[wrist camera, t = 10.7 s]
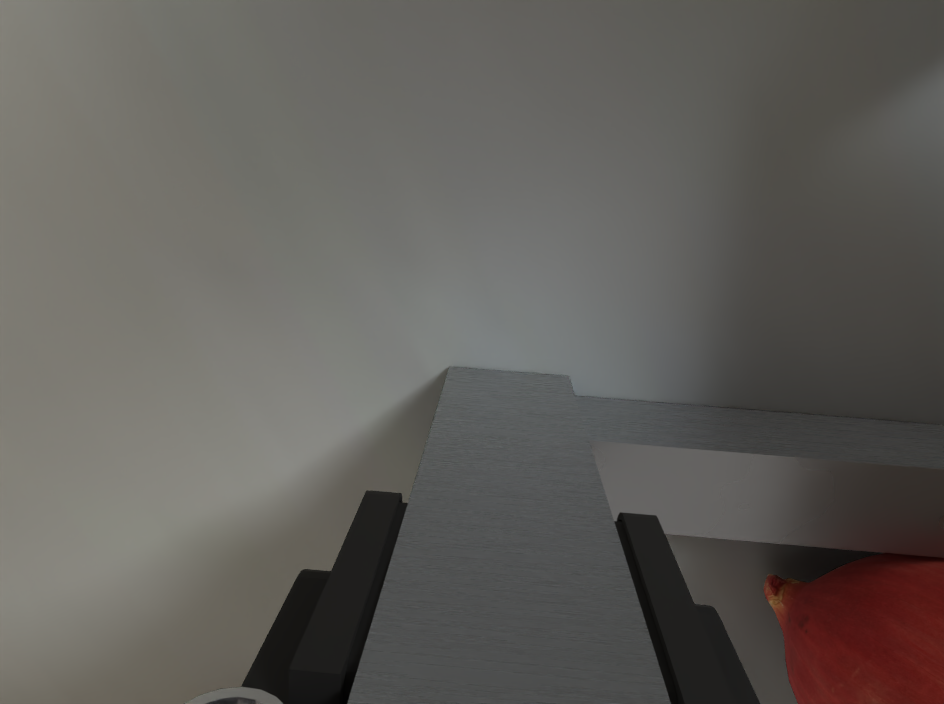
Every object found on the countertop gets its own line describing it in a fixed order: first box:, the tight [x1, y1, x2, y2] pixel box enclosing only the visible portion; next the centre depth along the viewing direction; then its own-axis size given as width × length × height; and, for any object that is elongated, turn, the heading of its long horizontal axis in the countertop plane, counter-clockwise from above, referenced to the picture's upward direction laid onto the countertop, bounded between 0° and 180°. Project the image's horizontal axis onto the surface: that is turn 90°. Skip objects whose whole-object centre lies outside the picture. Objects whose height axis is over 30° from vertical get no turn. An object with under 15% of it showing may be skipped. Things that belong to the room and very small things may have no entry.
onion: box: [764, 553, 944, 704], centre depth 15 cm, size 6×6×8 cm
